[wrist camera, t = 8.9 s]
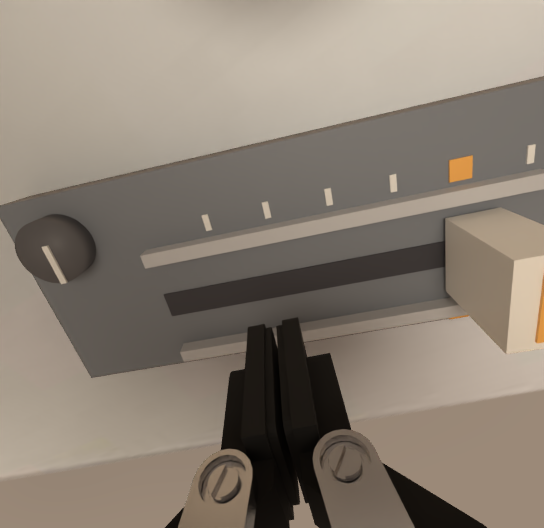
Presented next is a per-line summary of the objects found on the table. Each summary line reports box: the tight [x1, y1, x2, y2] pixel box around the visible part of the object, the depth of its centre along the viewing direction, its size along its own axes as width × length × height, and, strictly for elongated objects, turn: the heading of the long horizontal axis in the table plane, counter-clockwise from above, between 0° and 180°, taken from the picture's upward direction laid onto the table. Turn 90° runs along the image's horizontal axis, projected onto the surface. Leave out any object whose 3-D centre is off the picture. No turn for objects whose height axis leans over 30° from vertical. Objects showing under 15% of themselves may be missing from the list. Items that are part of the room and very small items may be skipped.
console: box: [0, 76, 544, 378], centre depth 17 cm, size 11×32×4 cm, turn 102°
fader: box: [445, 207, 544, 354], centre depth 14 cm, size 4×2×5 cm, turn 12°
